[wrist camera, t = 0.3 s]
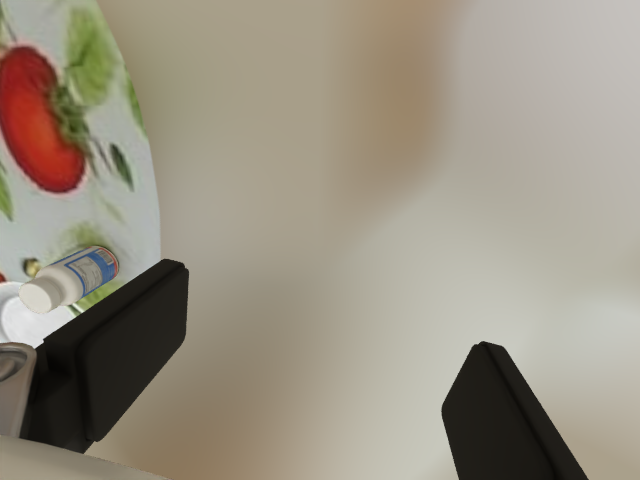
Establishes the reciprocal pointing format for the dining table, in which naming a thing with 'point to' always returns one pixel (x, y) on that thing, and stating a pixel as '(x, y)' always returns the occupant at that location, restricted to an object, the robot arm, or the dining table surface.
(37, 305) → the pill bottle
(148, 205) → the dining table surface
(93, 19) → the dining table surface
